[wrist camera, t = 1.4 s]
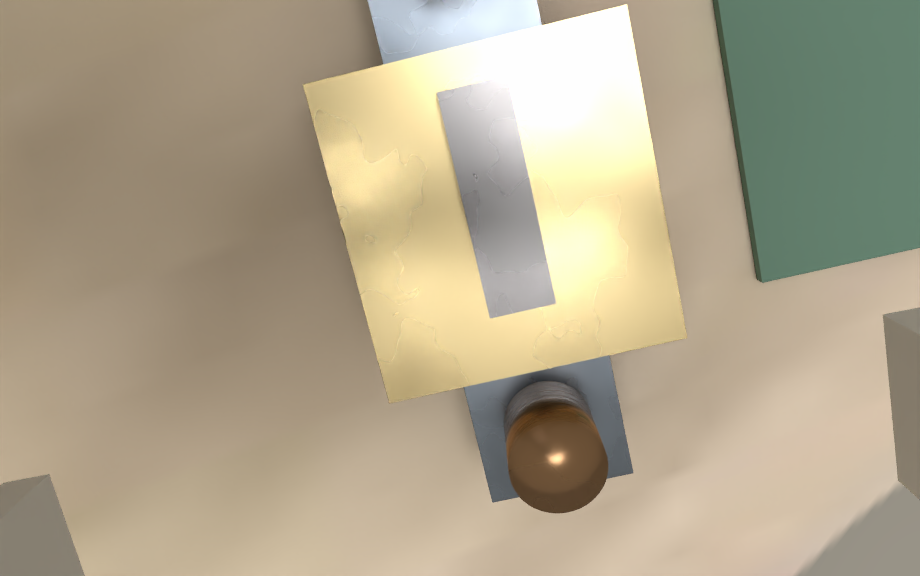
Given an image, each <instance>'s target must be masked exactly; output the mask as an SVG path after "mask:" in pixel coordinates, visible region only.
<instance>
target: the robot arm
mask: <svg viewBox="0 0 920 576" xmlns="http://www.w3.org/2000/svg"><path fill="white" fill-rule="evenodd" d="M883 321H884V332H885V343H886V354H887V365H888V376H889V387H890V398H891V409H892V420H893V431H894V442H895V452H896V463H897V474H898V481H899V482H900V483H902V484H903V485H904V486H905V487H906V488H907V489H908V490H909V491H910V492H911V493H913V494H914V495H915V496H916V497H917V498H918V499H919V500H920V308H915V309H910V310H905V311H899V312H894V313H889V314H884V315H883ZM0 576H85V575H84V572H83V570H82V567H81V564H80V561H79V558H78V555H77V552H76V550H75V547H74V544H73V541H72V538H71V535H70V532H69V530H68V527H67V524H66V521H65V518H64V515H63V512H62V510H61V507H60V504H59V501H58V498H57V495H56V492H55V490H54V487H53V484H52V481H51V478H50V475H49V474H48V475H42V476H37V477H32V478H27V479H22V480H16V481H11V482H6V483H3V484H2V485H0Z"/></svg>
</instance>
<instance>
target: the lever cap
mask: <svg viewBox="0 0 920 576" xmlns="http://www.w3.org/2000/svg"><path fill="white" fill-rule="evenodd" d="M303 87H304V91H305V95H306V98H307V102H308V106H309V110H310V113H311V117H312V121H313V124H314V128H315V132H316V135H317V139H318V143H319V146H320V150H321V154H322V157H323V161H324V165H325V168H326V172H327V176H328V179H329V183H330V187H331V190H332V194H333V198H334V201H335V205H336V209H337V212H338V216H339V220H340V224H341V227H342V231H343V235H344V238H345V242H346V246H347V249H348V253H349V257H350V260H351V264H352V268H353V271H354V275H355V279H356V282H357V286H358V290H359V293H360V297H361V301H362V304H363V308H364V312H365V315H366V319H367V323H368V327H369V330H370V334H371V338H372V341H373V345H374V349H375V352H376V356H377V360H378V363H379V367H380V371H381V374H382V378H383V382H384V385H385V389H386V393H387V396H388V400H389V403H394V402H398V401H403V400H407V399H412V398H417V397H421V396H426V395H430V394H435V393H439V392H444V391H448V390H453V389H458V388H462V387H467V386H471V385H476V384H480V383H485V382H489V381H494V380H499V379H503V378H508V377H512V376H517V375H521V374H526V373H530V372H535V371H540V370H544V369H549V368H553V367H558V366H562V365H567V364H571V363H576V362H581V361H585V360H590V359H594V358H599V357H603V356H608V355H612V354H617V353H622V352H626V351H631V350H635V349H640V348H644V347H649V346H653V345H658V344H663V343H667V342H672V341H676V340H681V339H685V338H687V334H686V328H685V323H684V317H683V312H682V306H681V301H680V295H679V290H678V284H677V279H676V273H675V267H674V262H673V256H672V251H671V245H670V240H669V234H668V229H667V223H666V218H665V212H664V207H663V201H662V196H661V190H660V185H659V179H658V174H657V168H656V162H655V157H654V151H653V146H652V140H651V135H650V129H649V124H648V118H647V113H646V107H645V102H644V96H643V91H642V85H641V80H640V74H639V68H638V63H637V57H636V52H635V46H634V41H633V35H632V30H631V24H630V19H629V13H628V8H627V5H623V6H619V7H615V8H611V9H607V10H603V11H599V12H595V13H590V14H586V15H582V16H578V17H574V18H570V19H566V20H562V21H558V22H554V23H550V24H546V25H542V26H538V27H534V28H530V29H526V30H522V31H518V32H513V33H509V34H505V35H501V36H497V37H493V38H489V39H485V40H481V41H477V42H473V43H469V44H465V45H461V46H457V47H453V48H449V49H445V50H440V51H436V52H432V53H428V54H424V55H420V56H416V57H412V58H408V59H404V60H400V61H396V62H392V63H388V64H384V65H380V66H376V67H372V68H367V69H363V70H359V71H355V72H351V73H347V74H343V75H339V76H335V77H331V78H327V79H323V80H319V81H315V82H311V83H307V84H303Z"/></svg>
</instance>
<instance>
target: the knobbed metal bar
mask: <svg viewBox="0 0 920 576" xmlns="http://www.w3.org/2000/svg"><path fill="white" fill-rule="evenodd" d="M368 4H369V8H370V12H371V16H372V20H373V24H374V28H375V32H376V36H377V40H378V44H379V48H380V52H381V56H382V60H383V64H388V63H392V62H396V61H400V60H404V59H408V58H412V57H416V56H420V55H424V54H428V53H432V52H436V51H440V50H445V49H449V48H453V47H457V46H461V45H465V44H469V43H473V42H477V41H481V40H485V39H489V38H493V37H497V36H501V35H505V34H509V33H513V32H518V31H522V30H526V29H530V28H534V27H538V26H542V24H541V19H540V14H539V9H538V4H537V0H368ZM464 390H465V394H466V398H467V402H468V406H469V410H470V414H471V418H472V422H473V426H474V430H475V434H476V438H477V442H478V446H479V450H480V454H481V458H482V462H483V466H484V470H485V474H486V478H487V482H488V486H489V490H490V494H491V498H492V502H498V501H502V500H507V499H512V498H517V497H520V498H521V499H522V500H523V501H524V502H526V503H527V504H528V505H530V506H531V507H533V508H535V509H538V510H541V511H544V512H548V513H566V512H571V511H574V510H577V509H579V508H582V507H583V506H585V505H587V504H588V503H590V502H591V501H592V500H593V499H594V498H595V497H596V496H597V495H598V494H599V493H600V491H601V490H602V488H603V486H604V484H605V482H606V479H607V478H612V477H617V476H622V475H626V474H631V473H633V469H632V464H631V459H630V454H629V449H628V444H627V440H626V435H625V430H624V425H623V420H622V415H621V410H620V405H619V400H618V395H617V391H616V386H615V381H614V376H613V371H612V366H611V361H610V356H609V355H608V356H603V357H599V358H594V359H590V360H585V361H581V362H576V363H571V364H567V365H562V366H558V367H553V368H549V369H544V370H540V371H535V372H530V373H526V374H521V375H517V376H512V377H508V378H503V379H499V380H494V381H489V382H485V383H480V384H476V385H471V386H467V387H464Z"/></svg>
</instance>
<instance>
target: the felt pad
mask: <svg viewBox="0 0 920 576" xmlns="http://www.w3.org/2000/svg"><path fill="white" fill-rule="evenodd" d="M713 4H714V10H715V17H716V23H717V29H718V36H719V42H720V48H721V55H722V61H723V67H724V74H725V80H726V86H727V93H728V99H729V105H730V112H731V118H732V124H733V131H734V137H735V143H736V150H737V156H738V162H739V168H740V175H741V181H742V187H743V194H744V200H745V206H746V213H747V219H748V225H749V232H750V238H751V244H752V251H753V257H754V263H755V270H756V276H757V280H759V281H760V282H762V283H764V282H768V281H772V280H777V279H781V278H786V277H790V276H795V275H799V274H804V273H808V272H813V271H817V270H822V269H826V268H831V267H835V266H840V265H844V264H849V263H853V262H858V261H862V260H867V259H871V258H876V257H880V256H885V255H889V254H894V253H898V252H903V251H907V250H912V249H916V248H920V0H713Z"/></svg>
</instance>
